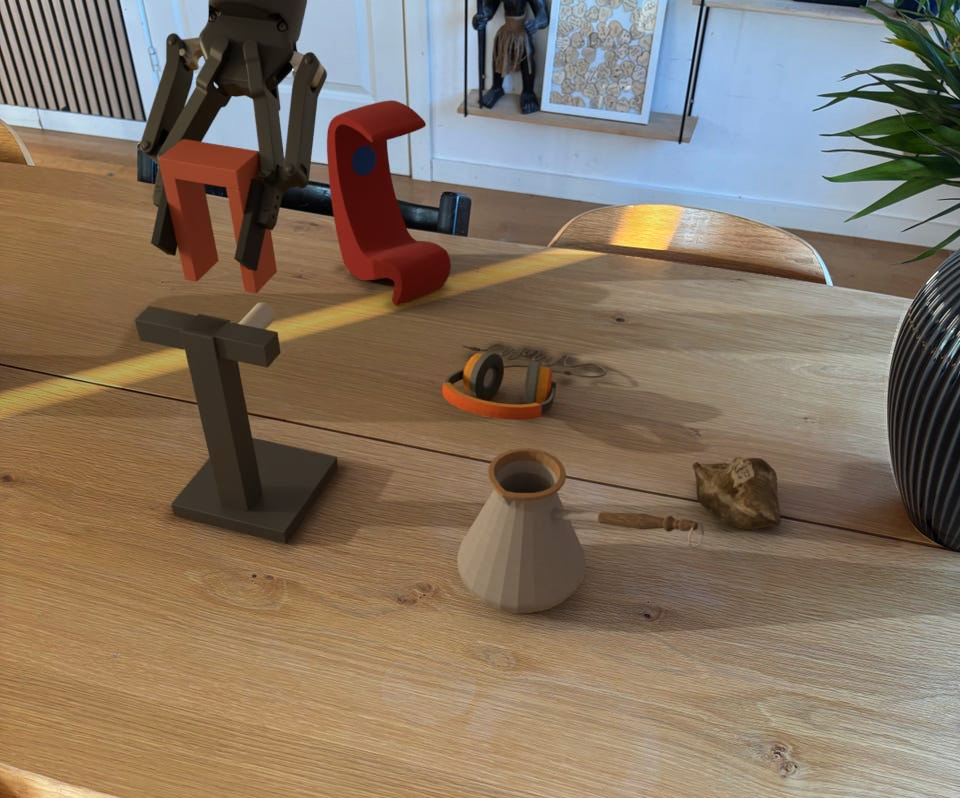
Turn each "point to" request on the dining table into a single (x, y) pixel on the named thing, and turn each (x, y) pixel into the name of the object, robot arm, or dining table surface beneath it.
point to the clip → (189, 207)
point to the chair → (378, 203)
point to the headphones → (486, 380)
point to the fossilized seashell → (739, 492)
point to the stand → (237, 428)
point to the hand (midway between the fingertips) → (204, 256)
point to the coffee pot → (534, 535)
